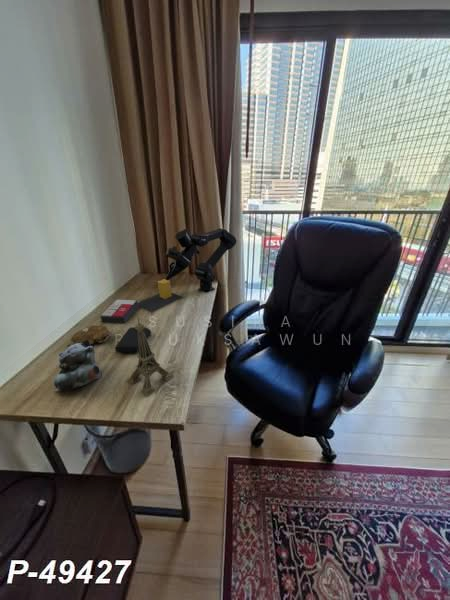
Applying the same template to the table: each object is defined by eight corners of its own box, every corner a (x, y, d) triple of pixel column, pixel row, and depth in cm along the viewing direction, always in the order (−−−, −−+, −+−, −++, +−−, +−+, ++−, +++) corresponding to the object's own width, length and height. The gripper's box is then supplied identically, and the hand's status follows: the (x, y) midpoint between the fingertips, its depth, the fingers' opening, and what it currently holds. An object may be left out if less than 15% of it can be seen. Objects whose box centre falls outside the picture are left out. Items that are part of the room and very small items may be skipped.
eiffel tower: (154, 362, 89) (141, 300, 77) (173, 376, 83) (163, 311, 71) (127, 380, 82) (109, 314, 70) (146, 396, 76) (130, 327, 64)
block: (166, 294, 137) (164, 278, 133) (171, 296, 135) (169, 280, 130) (159, 296, 134) (157, 281, 130) (165, 299, 131) (163, 283, 127)
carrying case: (141, 355, 93) (154, 332, 106) (140, 348, 91) (153, 326, 104) (114, 354, 93) (130, 331, 106) (112, 347, 92) (129, 325, 105)
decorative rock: (118, 331, 107) (85, 332, 108) (116, 323, 105) (82, 323, 107) (104, 347, 97) (68, 347, 98) (102, 338, 95) (64, 338, 96)
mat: (166, 291, 141) (166, 290, 141) (183, 297, 133) (183, 297, 133) (135, 304, 128) (135, 304, 127) (151, 313, 120) (151, 312, 120)
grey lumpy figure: (45, 394, 77) (36, 349, 77) (79, 380, 88) (72, 341, 88) (80, 391, 72) (72, 344, 72) (112, 377, 83) (104, 336, 83)
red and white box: (99, 315, 112) (116, 298, 125) (102, 323, 114) (118, 305, 127) (122, 316, 110) (137, 299, 123) (124, 324, 113) (138, 306, 125)
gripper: (169, 248, 129) (151, 271, 124) (179, 236, 112) (157, 262, 107) (186, 262, 132) (169, 285, 127) (198, 253, 115) (178, 279, 110)
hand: (168, 278), depth 118 cm, fingers open, 9 cm apart
